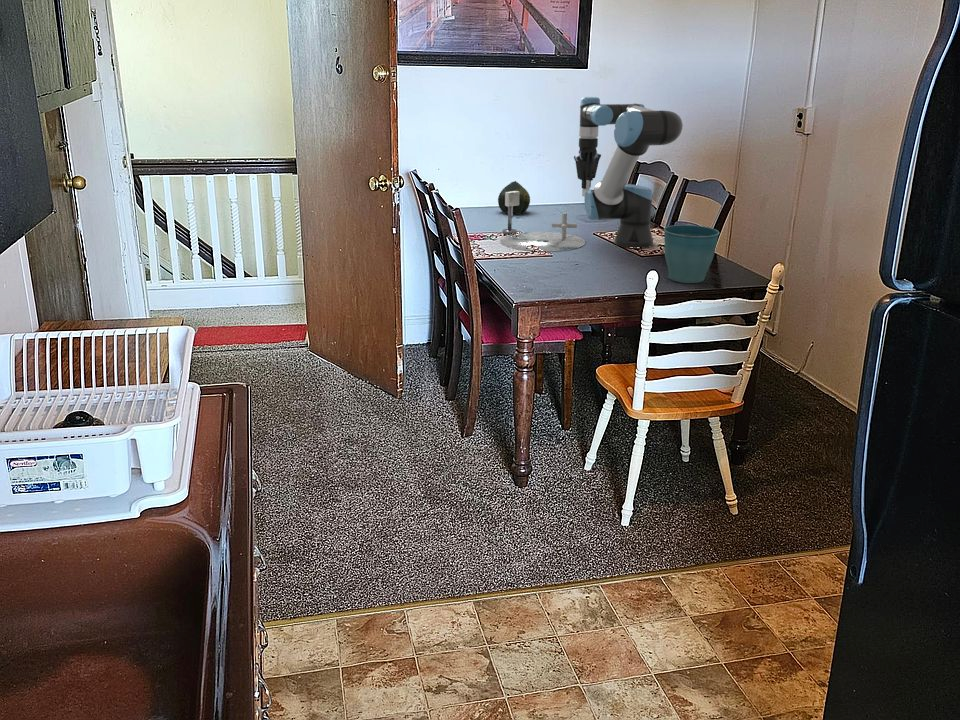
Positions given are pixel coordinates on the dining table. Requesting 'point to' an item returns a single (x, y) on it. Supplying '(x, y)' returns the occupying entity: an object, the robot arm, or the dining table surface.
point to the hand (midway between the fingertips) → (585, 196)
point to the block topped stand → (511, 208)
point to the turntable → (543, 241)
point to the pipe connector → (564, 225)
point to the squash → (523, 198)
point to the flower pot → (689, 251)
